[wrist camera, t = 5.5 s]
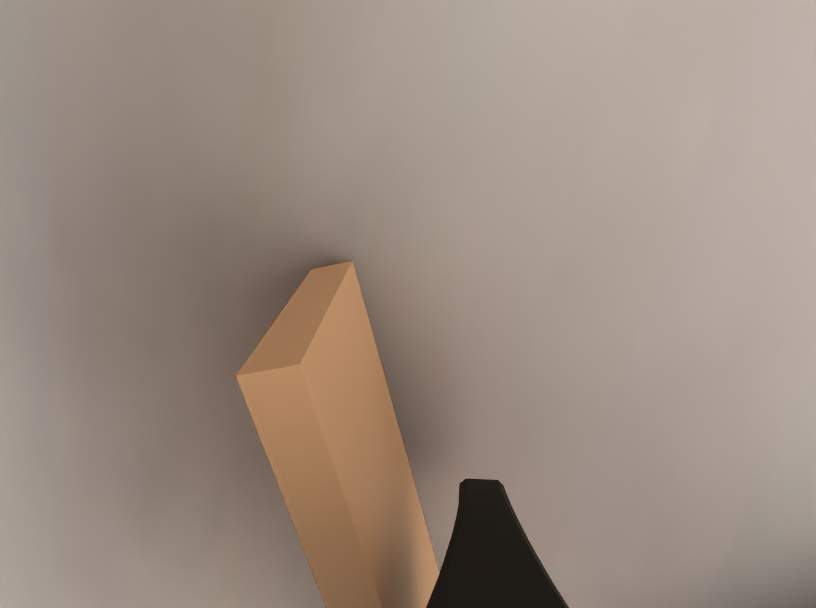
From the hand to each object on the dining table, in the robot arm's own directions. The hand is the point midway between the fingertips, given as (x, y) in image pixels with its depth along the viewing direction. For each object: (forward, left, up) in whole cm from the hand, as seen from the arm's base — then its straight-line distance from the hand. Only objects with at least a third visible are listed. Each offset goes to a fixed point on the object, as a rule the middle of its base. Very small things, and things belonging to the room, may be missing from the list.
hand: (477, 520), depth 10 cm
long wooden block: (-3, -2, -1) cm, 4 cm away
